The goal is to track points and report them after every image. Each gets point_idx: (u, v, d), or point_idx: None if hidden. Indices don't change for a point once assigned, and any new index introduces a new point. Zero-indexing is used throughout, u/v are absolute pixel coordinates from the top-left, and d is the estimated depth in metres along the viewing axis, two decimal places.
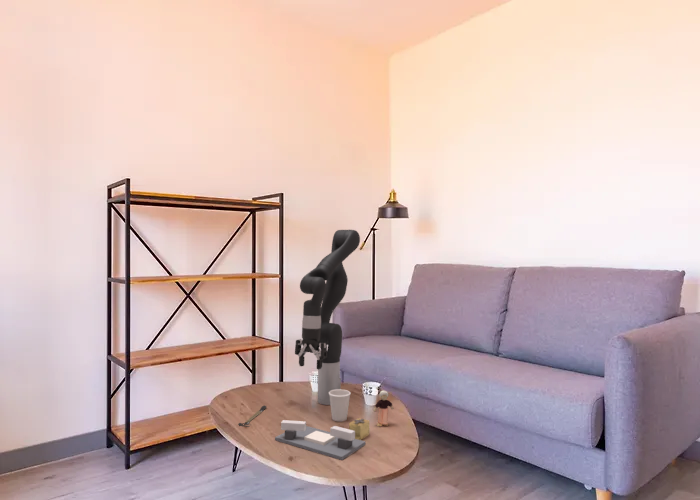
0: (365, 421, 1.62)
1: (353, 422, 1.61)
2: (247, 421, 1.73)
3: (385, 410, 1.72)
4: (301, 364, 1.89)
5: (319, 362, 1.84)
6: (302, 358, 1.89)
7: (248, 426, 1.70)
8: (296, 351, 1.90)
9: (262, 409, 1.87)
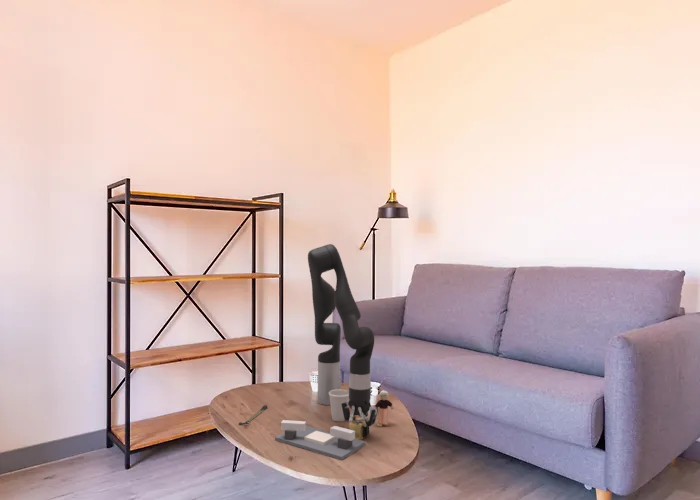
0: None
1: (353, 422, 1.61)
2: (247, 420, 1.74)
3: (385, 410, 1.72)
4: None
5: (365, 429, 1.60)
6: None
7: (248, 425, 1.70)
8: (346, 416, 1.64)
9: (263, 409, 1.88)
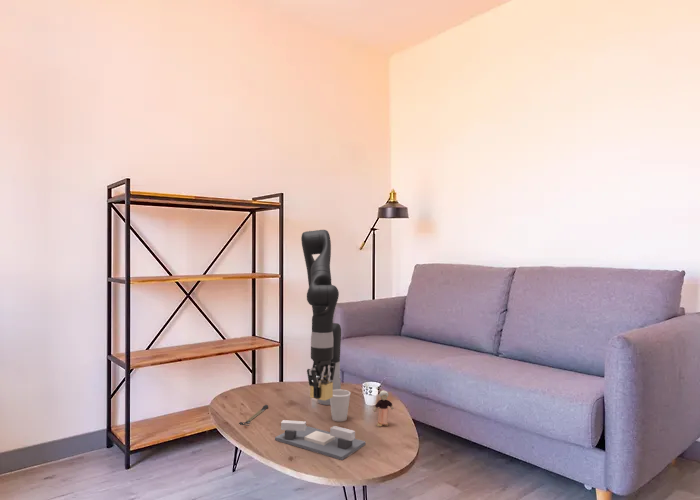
0: (322, 384, 1.54)
1: None
2: (248, 420, 1.74)
3: (385, 410, 1.72)
4: None
5: (314, 389, 1.54)
6: None
7: (248, 425, 1.71)
8: None
9: (264, 408, 1.88)
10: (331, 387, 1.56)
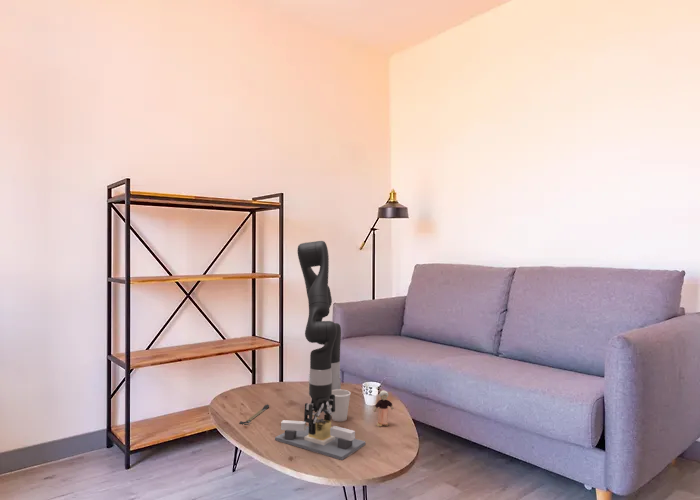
0: (320, 423, 1.54)
1: (318, 419, 1.58)
2: (248, 420, 1.75)
3: (385, 410, 1.72)
4: None
5: None
6: (326, 417, 1.60)
7: None
8: None
9: (265, 408, 1.88)
10: (329, 426, 1.56)
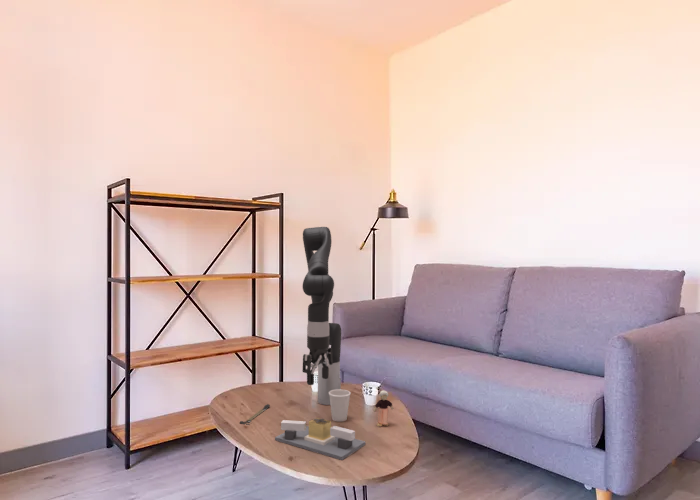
0: (320, 423, 1.54)
1: (318, 419, 1.58)
2: (249, 419, 1.75)
3: (385, 410, 1.72)
4: (323, 376, 1.63)
5: None
6: (324, 369, 1.63)
7: (249, 424, 1.71)
8: None
9: (265, 408, 1.89)
10: (329, 426, 1.56)
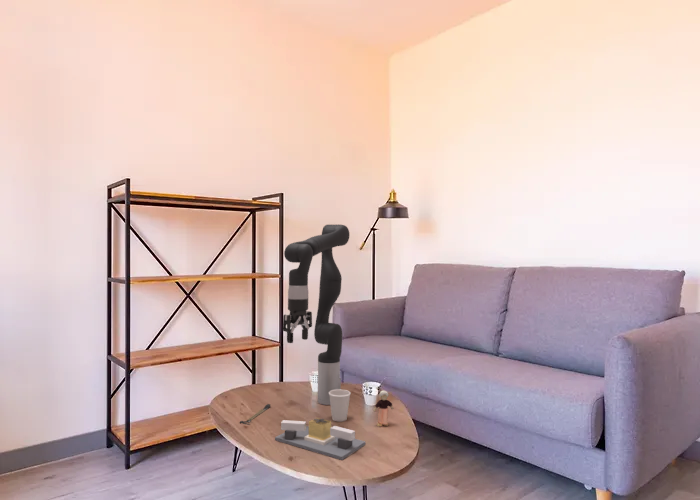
0: (320, 423, 1.54)
1: (318, 419, 1.58)
2: (249, 419, 1.75)
3: (385, 410, 1.72)
4: (303, 337, 1.78)
5: None
6: (303, 331, 1.78)
7: (249, 424, 1.72)
8: None
9: (266, 407, 1.89)
10: (329, 426, 1.56)
